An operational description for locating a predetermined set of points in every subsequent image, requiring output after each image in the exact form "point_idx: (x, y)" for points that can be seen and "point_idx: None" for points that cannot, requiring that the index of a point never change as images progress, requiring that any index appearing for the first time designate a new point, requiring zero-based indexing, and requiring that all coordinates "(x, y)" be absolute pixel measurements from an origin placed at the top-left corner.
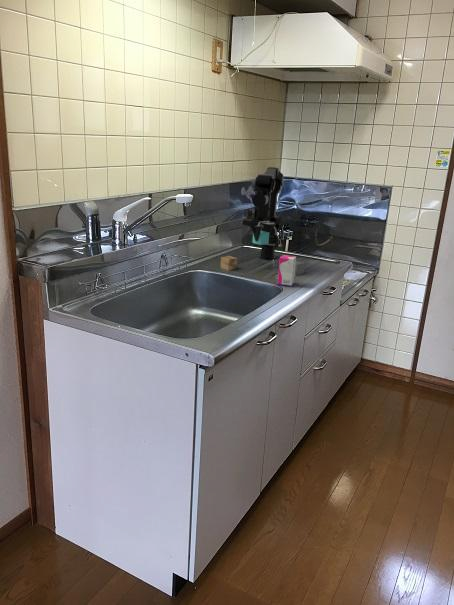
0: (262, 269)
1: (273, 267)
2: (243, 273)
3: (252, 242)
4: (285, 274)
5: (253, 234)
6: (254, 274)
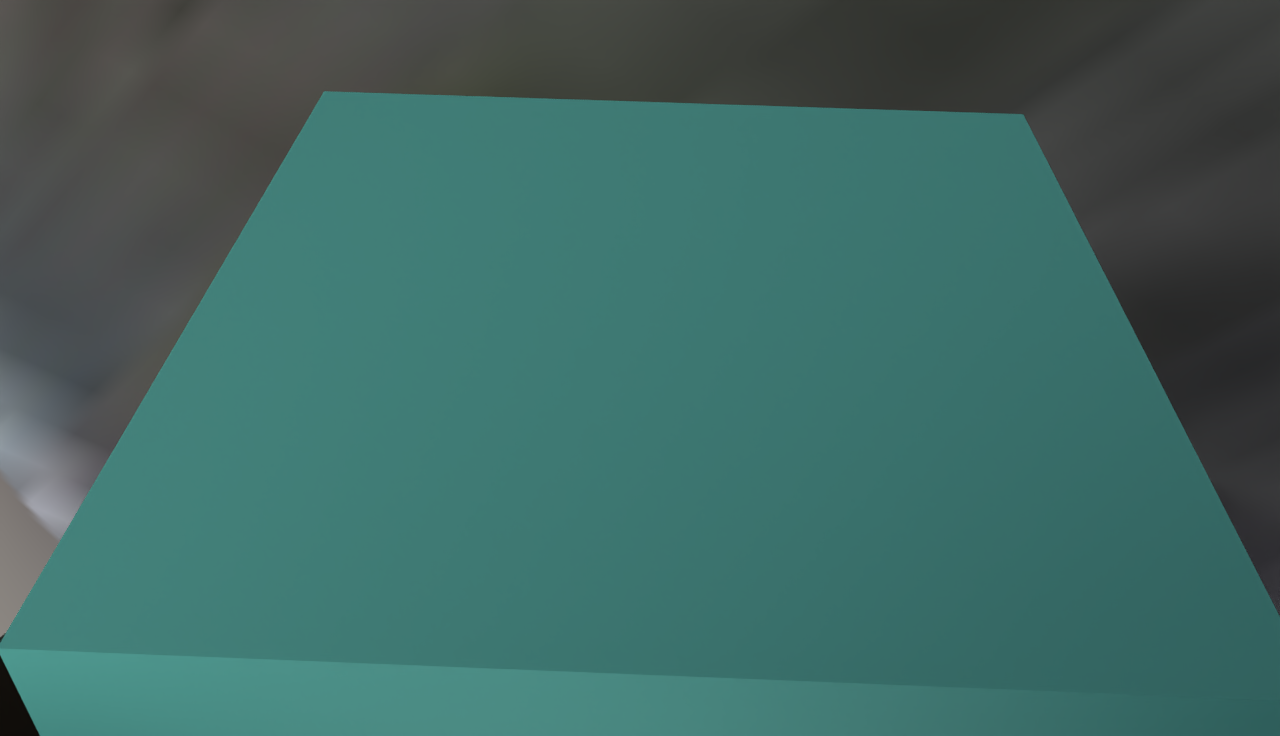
0: (733, 24)
1: (1141, 52)
2: (34, 15)
3: (315, 108)
4: None
5: (137, 484)
6: (244, 209)
